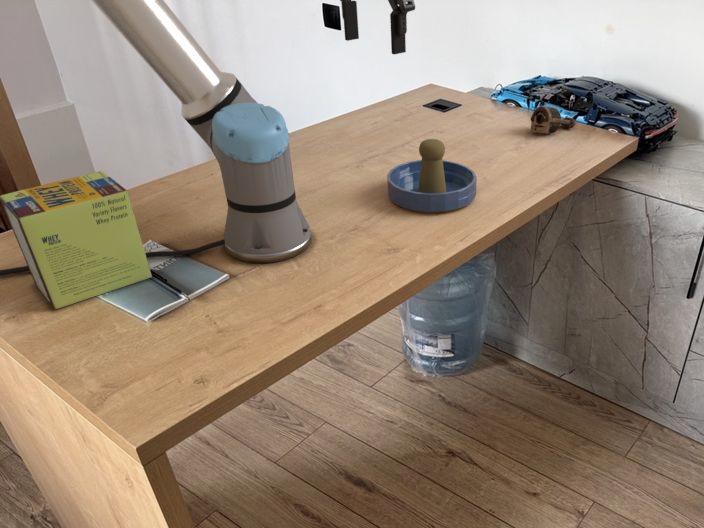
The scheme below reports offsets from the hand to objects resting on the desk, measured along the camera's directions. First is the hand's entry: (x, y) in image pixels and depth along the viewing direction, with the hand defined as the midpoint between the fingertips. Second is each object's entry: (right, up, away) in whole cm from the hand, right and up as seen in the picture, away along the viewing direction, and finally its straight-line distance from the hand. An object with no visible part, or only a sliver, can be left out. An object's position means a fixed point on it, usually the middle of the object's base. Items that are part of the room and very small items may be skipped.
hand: (374, 46), depth 125 cm
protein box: (-44, -45, -14) cm, 65 cm away
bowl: (+10, -24, +16) cm, 31 cm away
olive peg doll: (+10, -24, +15) cm, 30 cm away
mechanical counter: (+40, 0, +50) cm, 64 cm away
